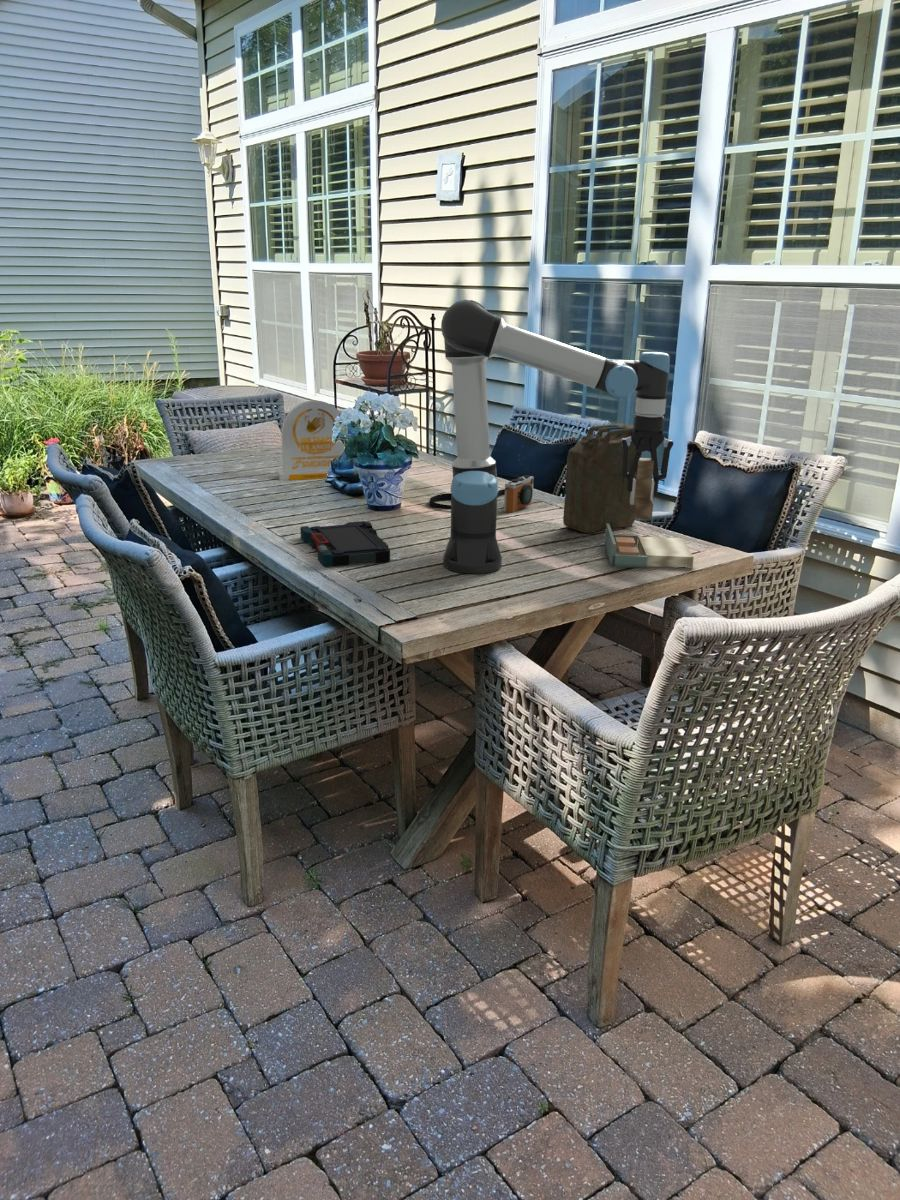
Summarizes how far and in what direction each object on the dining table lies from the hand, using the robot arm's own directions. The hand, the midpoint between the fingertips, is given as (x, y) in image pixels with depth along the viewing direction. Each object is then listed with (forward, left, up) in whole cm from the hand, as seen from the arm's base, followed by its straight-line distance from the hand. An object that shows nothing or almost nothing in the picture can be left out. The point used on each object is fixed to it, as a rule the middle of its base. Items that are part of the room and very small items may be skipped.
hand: (640, 503), depth 235 cm
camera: (-44, +54, -15) cm, 71 cm away
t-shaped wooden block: (0, 0, -2) cm, 2 cm away
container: (-8, +30, -15) cm, 34 cm away
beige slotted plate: (+7, 0, -14) cm, 16 cm away
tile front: (-3, -5, -14) cm, 15 cm away
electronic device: (-79, -4, -15) cm, 80 cm away
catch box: (-3, 0, -14) cm, 15 cm away
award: (-107, +87, -15) cm, 138 cm away
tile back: (-3, +5, -14) cm, 15 cm away
